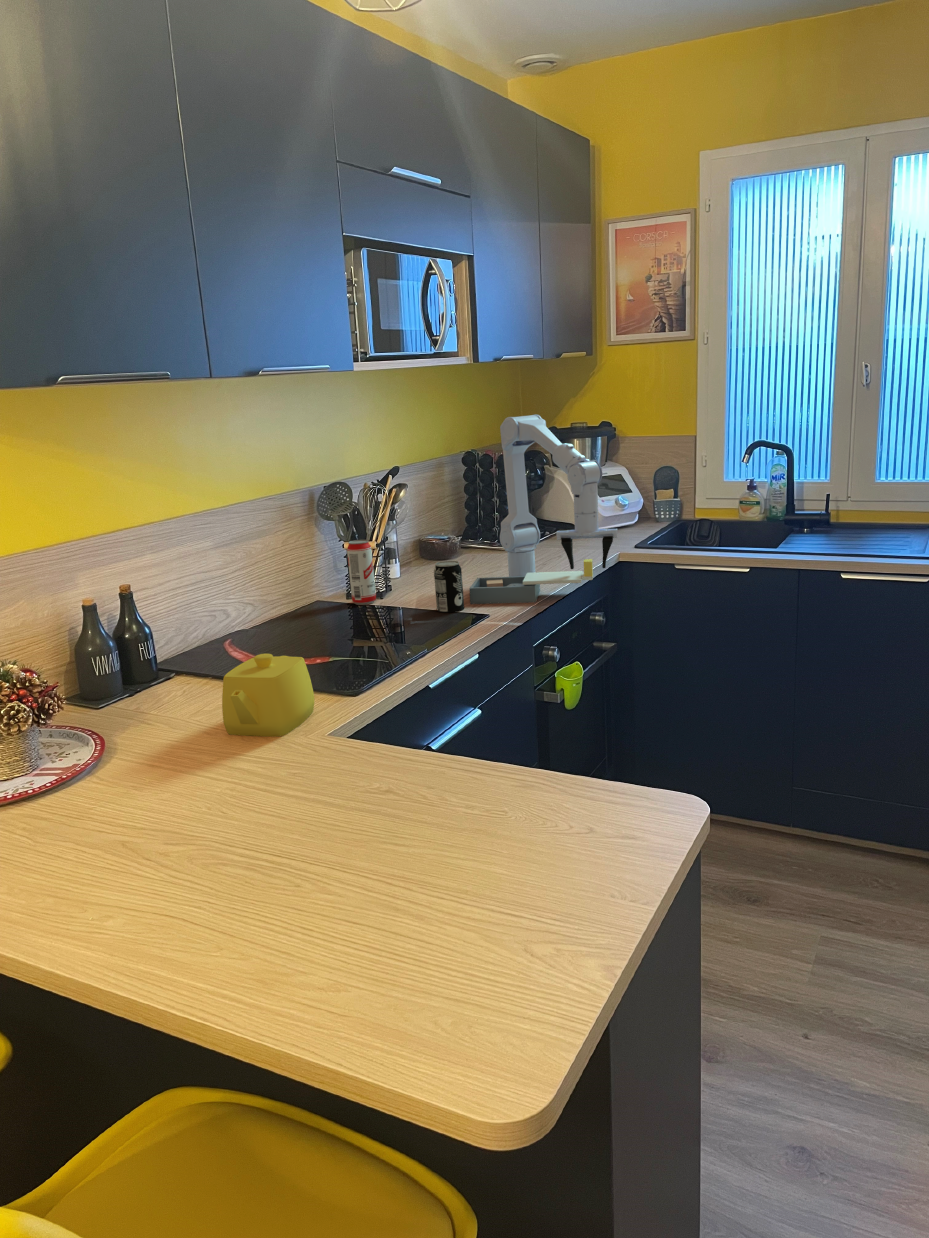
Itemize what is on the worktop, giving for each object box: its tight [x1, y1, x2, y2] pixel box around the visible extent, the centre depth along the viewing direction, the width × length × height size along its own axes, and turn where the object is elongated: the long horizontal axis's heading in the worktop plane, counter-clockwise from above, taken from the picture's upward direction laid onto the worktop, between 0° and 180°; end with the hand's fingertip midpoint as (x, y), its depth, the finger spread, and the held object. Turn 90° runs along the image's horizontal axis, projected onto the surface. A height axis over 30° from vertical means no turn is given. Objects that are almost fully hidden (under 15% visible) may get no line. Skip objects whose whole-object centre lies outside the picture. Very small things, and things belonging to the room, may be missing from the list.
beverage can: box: [433, 560, 465, 614], centre depth 216 cm, size 7×7×12 cm
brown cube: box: [506, 583, 527, 587], centre depth 222 cm, size 4×4×4 cm
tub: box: [468, 576, 541, 605], centre depth 225 cm, size 12×16×4 cm
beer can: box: [346, 539, 377, 606], centre depth 232 cm, size 6×6×16 cm
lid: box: [523, 558, 594, 585], centre depth 222 cm, size 10×17×4 cm, turn 80°
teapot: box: [221, 653, 315, 738], centre depth 150 cm, size 20×12×12 cm, turn 165°
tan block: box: [487, 580, 503, 587], centre depth 228 cm, size 4×4×4 cm
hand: (588, 567), depth 220 cm, fingers open, 7 cm apart
